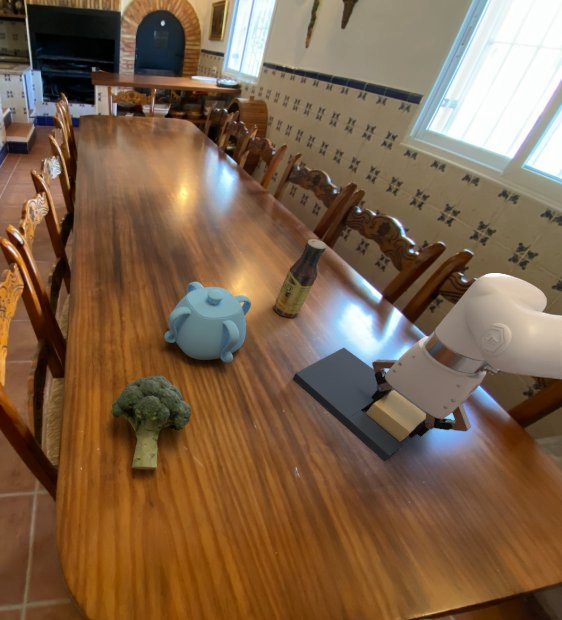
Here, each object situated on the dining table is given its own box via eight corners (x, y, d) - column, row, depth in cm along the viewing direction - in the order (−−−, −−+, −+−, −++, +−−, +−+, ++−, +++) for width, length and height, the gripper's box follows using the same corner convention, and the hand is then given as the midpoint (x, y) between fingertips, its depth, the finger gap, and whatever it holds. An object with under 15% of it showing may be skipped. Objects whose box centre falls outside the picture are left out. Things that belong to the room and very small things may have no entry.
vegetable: (87, 458, 55) (108, 365, 61) (140, 469, 63) (154, 386, 69) (147, 470, 47) (164, 362, 53) (198, 481, 55) (208, 386, 61)
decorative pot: (224, 382, 72) (241, 333, 63) (154, 348, 77) (161, 299, 69) (248, 335, 83) (266, 288, 74) (186, 309, 88) (195, 262, 80)
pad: (419, 426, 65) (429, 416, 63) (399, 442, 62) (410, 432, 60) (385, 399, 69) (393, 389, 67) (365, 413, 67) (373, 403, 64)
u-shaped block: (432, 422, 68) (437, 416, 66) (384, 461, 61) (390, 455, 60) (340, 352, 80) (343, 347, 79) (292, 378, 74) (295, 372, 72)
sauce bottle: (271, 301, 93) (298, 233, 80) (295, 305, 93) (326, 236, 80) (275, 317, 88) (304, 247, 75) (300, 321, 88) (335, 251, 75)
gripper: (535, 382, 50) (454, 448, 62) (412, 310, 61) (362, 377, 73) (513, 403, 47) (432, 468, 58) (387, 323, 58) (340, 391, 69)
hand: (394, 417), depth 65 cm, fingers closed on pad, 6 cm apart
